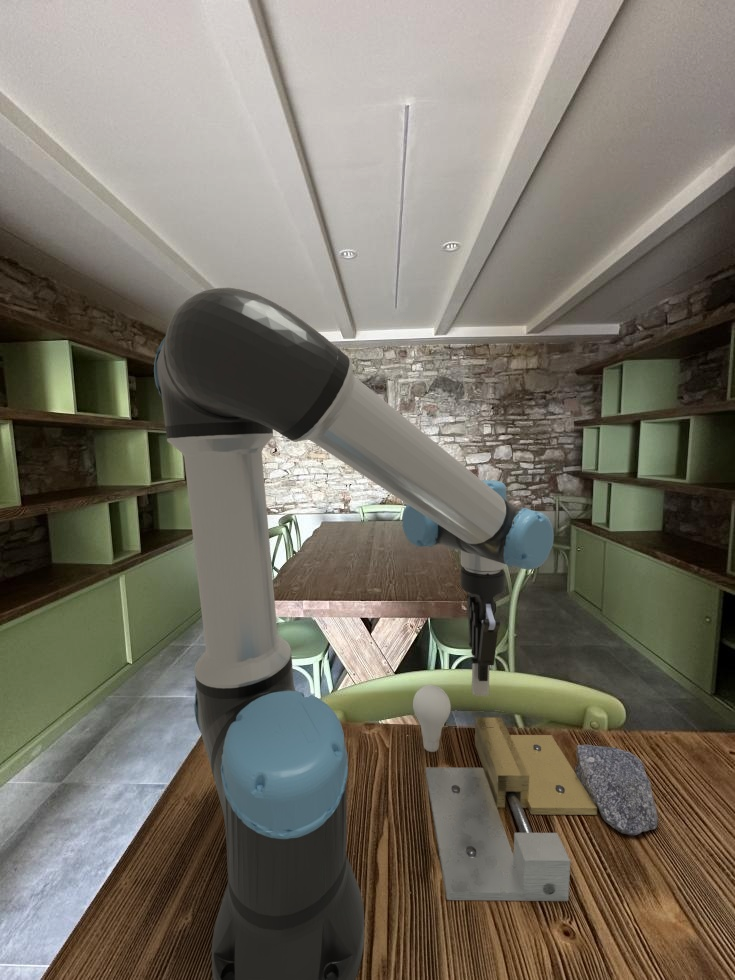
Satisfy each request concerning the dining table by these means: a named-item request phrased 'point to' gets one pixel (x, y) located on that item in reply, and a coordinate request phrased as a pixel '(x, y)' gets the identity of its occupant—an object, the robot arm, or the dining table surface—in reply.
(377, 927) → the dining table surface
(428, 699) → the lightbulb
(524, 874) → the zinc leaf
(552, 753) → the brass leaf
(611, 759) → the rock
